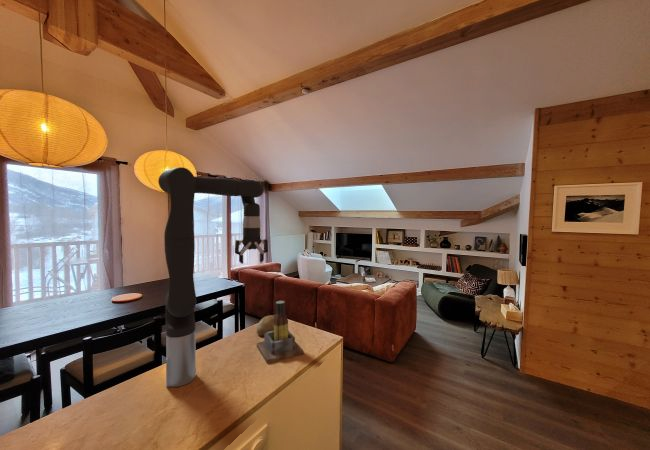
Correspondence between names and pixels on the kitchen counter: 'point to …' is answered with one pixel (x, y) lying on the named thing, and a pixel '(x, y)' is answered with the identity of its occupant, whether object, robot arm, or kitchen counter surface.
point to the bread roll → (265, 325)
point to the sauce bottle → (280, 322)
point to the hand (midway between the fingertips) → (251, 262)
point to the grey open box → (278, 348)
